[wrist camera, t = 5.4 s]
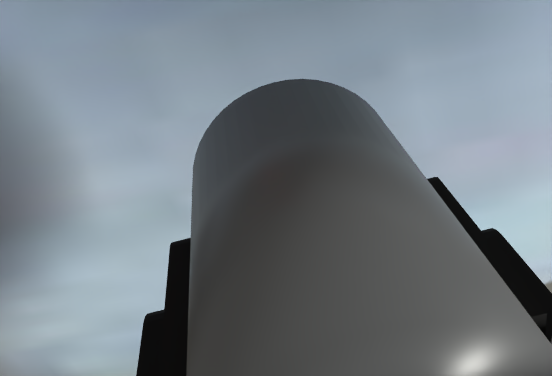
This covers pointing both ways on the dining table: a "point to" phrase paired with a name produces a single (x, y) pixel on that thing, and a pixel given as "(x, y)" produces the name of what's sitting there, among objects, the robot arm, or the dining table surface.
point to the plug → (337, 253)
